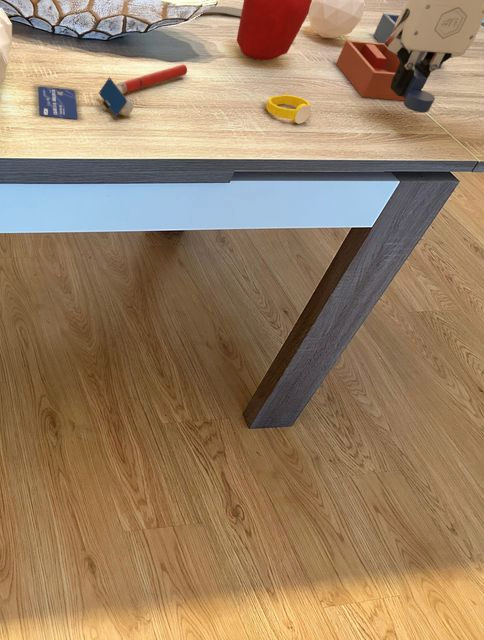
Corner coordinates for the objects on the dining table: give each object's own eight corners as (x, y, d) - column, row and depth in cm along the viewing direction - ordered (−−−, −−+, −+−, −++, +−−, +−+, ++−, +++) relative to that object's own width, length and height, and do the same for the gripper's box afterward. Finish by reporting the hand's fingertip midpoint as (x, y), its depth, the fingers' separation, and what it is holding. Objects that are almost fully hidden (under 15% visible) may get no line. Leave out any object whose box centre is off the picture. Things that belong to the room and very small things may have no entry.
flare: (115, 98, 108) (107, 93, 109) (186, 77, 115) (178, 72, 116) (117, 87, 107) (109, 82, 108) (188, 67, 114) (180, 62, 115)
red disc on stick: (391, 90, 120) (401, 69, 117) (370, 88, 119) (380, 67, 117) (370, 65, 126) (380, 45, 123) (350, 63, 125) (359, 43, 123)
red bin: (407, 100, 119) (419, 76, 116) (362, 97, 118) (373, 72, 115) (377, 67, 127) (389, 43, 124) (335, 63, 126) (346, 39, 123)
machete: (164, 19, 128) (154, -2, 130) (159, 29, 130) (149, 8, 131) (282, 20, 137) (271, 0, 139) (275, 29, 139) (264, 10, 141)
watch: (292, 87, 112) (321, 101, 108) (287, 105, 114) (316, 120, 110) (262, 94, 110) (291, 108, 106) (257, 112, 112) (286, 127, 108)
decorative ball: (278, 37, 137) (312, -31, 132) (328, 58, 139) (363, -8, 133) (293, 42, 129) (330, -30, 124) (346, 65, 131) (384, -6, 125)
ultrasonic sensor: (122, 125, 105) (137, 104, 103) (110, 120, 104) (125, 99, 102) (105, 101, 108) (119, 81, 106) (93, 96, 107) (107, 76, 105)
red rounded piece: (252, 72, 120) (283, -15, 110) (215, 44, 126) (241, -41, 116) (301, 66, 124) (335, -19, 114) (263, 39, 130) (292, -44, 120)
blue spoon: (433, 113, 107) (445, 90, 105) (410, 112, 107) (421, 88, 104) (406, 85, 113) (417, 63, 111) (384, 84, 113) (395, 61, 110)
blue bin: (440, 68, 130) (452, 45, 127) (399, 64, 129) (411, 41, 126) (411, 39, 138) (422, 16, 135) (372, 35, 137) (383, 13, 134)
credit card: (77, 119, 103) (77, 119, 103) (39, 115, 102) (39, 115, 102) (74, 90, 108) (74, 90, 108) (38, 86, 108) (38, 86, 108)
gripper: (424, -35, 95) (364, 101, 108) (536, -25, 97) (463, 107, 109) (399, -54, 100) (344, 78, 113) (506, -45, 102) (440, 84, 115)
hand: (403, 91), depth 111 cm, fingers closed on blue spoon
